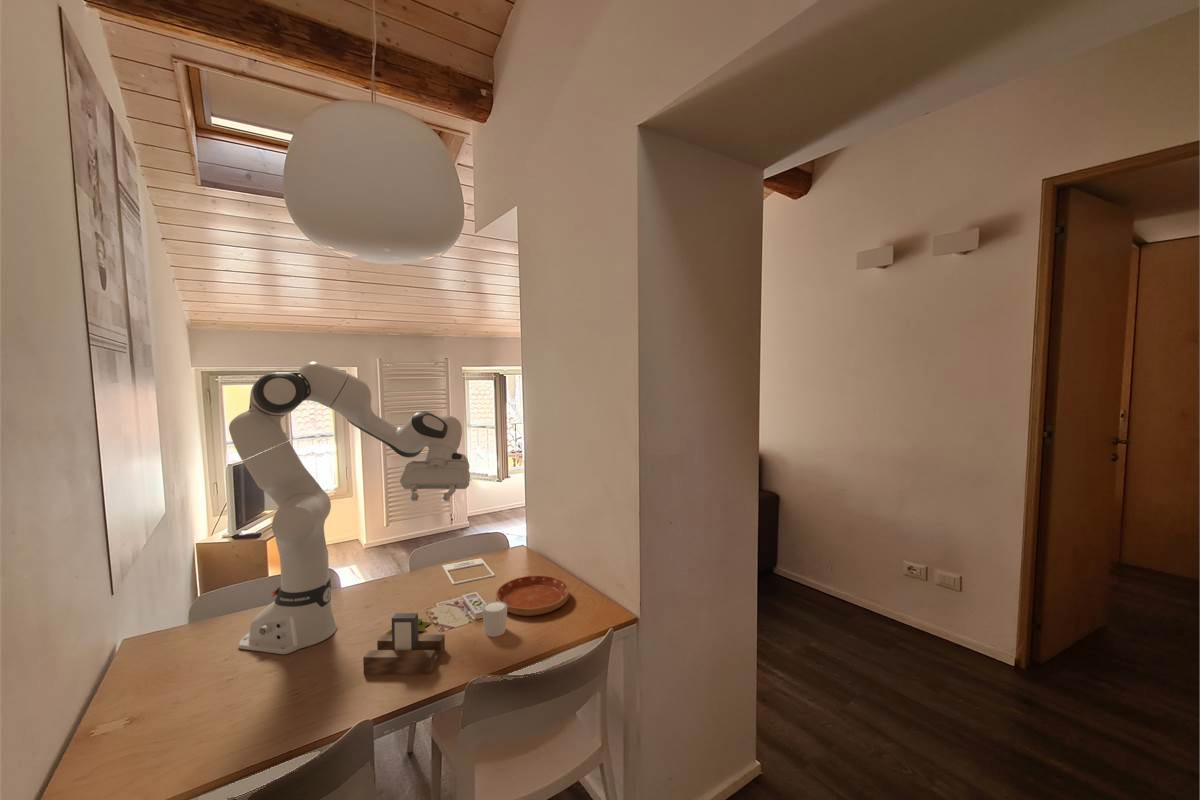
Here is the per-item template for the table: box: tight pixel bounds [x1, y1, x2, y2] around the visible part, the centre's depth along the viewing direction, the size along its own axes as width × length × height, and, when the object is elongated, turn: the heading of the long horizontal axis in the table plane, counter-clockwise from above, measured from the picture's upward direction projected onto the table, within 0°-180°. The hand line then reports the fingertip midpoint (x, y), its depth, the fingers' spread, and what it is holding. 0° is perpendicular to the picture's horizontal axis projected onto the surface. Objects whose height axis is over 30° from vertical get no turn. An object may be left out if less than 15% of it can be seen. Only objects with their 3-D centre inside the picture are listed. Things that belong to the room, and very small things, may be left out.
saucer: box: [495, 575, 570, 617], centre depth 149 cm, size 23×23×4 cm
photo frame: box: [442, 557, 496, 586], centre depth 172 cm, size 15×1×18 cm
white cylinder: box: [481, 600, 508, 638], centre depth 131 cm, size 7×7×7 cm
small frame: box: [391, 612, 419, 650], centre depth 117 cm, size 6×3×10 cm, turn 90°
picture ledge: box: [362, 633, 446, 675], centre depth 117 cm, size 16×10×4 cm, turn 90°
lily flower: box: [385, 612, 432, 634], centre depth 132 cm, size 12×12×5 cm
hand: (429, 500), depth 139 cm, fingers open, 8 cm apart
